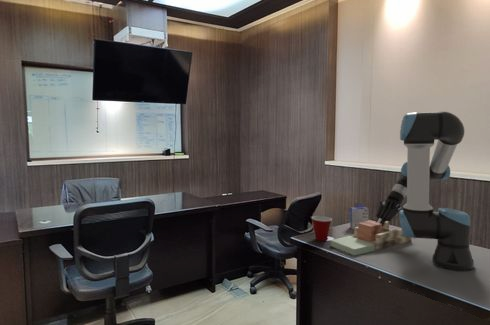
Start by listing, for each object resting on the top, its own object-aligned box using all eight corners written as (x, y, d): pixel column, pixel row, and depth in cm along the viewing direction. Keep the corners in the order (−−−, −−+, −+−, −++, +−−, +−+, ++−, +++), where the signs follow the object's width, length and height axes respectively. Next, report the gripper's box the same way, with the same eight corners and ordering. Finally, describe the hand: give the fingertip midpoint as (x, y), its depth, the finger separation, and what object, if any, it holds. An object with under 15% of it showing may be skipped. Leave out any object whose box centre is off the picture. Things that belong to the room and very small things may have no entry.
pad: (349, 241, 179) (349, 235, 179) (374, 250, 165) (374, 244, 165) (330, 245, 173) (330, 240, 173) (354, 255, 159) (354, 249, 159)
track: (385, 233, 191) (386, 220, 191) (411, 240, 177) (411, 227, 177) (349, 241, 179) (349, 228, 178) (374, 250, 165) (374, 236, 164)
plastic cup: (335, 241, 179) (335, 219, 178) (315, 243, 178) (315, 220, 176) (327, 235, 190) (327, 214, 189) (308, 237, 188) (308, 215, 187)
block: (368, 234, 180) (368, 220, 179) (381, 238, 173) (381, 224, 172) (358, 237, 176) (358, 223, 175) (370, 241, 169) (370, 226, 168)
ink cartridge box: (366, 226, 205) (366, 202, 204) (369, 229, 200) (369, 204, 199) (349, 227, 206) (349, 203, 204) (352, 229, 200) (352, 205, 199)
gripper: (411, 200, 179) (389, 237, 173) (391, 196, 191) (369, 231, 185) (404, 191, 176) (382, 228, 170) (384, 188, 188) (362, 223, 182)
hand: (375, 229), depth 177 cm, fingers closed
